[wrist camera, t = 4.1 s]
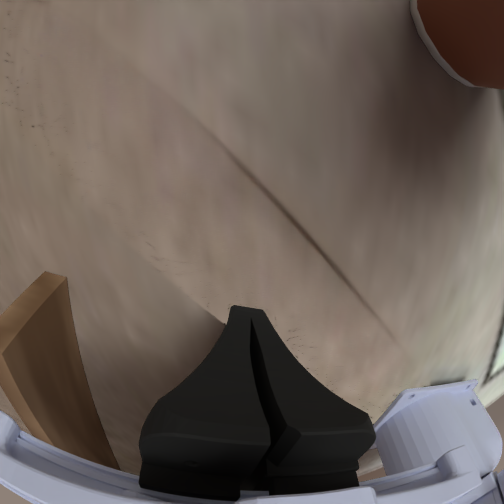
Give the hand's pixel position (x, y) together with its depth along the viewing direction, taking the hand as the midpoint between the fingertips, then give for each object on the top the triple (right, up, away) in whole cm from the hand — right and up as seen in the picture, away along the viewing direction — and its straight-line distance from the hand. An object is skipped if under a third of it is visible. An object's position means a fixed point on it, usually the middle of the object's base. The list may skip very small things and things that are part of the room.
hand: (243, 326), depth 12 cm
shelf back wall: (-13, -11, +6) cm, 18 cm away
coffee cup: (+11, +14, -4) cm, 18 cm away
